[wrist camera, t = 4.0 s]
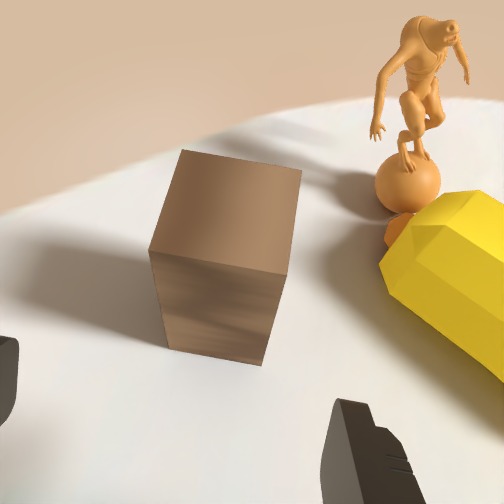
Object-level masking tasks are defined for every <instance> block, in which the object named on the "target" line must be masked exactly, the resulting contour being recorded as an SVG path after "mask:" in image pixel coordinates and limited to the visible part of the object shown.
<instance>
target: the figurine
mask: <svg viewBox="0 0 504 504" xmlns="http://www.w3.org/2000/svg"><path fill="white" fill-rule="evenodd" d="M458 32H459V26H458V24H457V22H456V21H455V20H447V21H437V20H434V19H432V18H429V17H427V16H418V17H414V18H412V19H411V20H409V21H408V22H407V24H406V25H405V26H404V28H403V30H402V33H401V39H400V45H401V46H400V48H399V49H398V51H397V53H396V54H395V55H394V56H393V57H392V58H391V59H390V60H389V61H388V62H387V64H386V65H385V66H384V67H383V68H382V69H381V71H380V72H379V74H378V77H377V82H376V94H375V101H374V114H373V119H372V122H371V127H370V140H371V138H372V134H374V140H375V142H376V134H378V136H379V139H380V140H381V133H380V129H381V128H382V129H383V130H384V131H386V130H385V127H384V126H383V125H382V124H381V123H380V117H381V113H382V110H383V105H384V97H385V90H386V86H387V81H388V77H389V76H390V75H392V74H393V73H394V72H395V71H396V70H397V69H399V67H401V66H402V65H403V64H404V66H405V70H406V74H407V76H406V77H407V78H406V79H407V84H408V91H406V92H404V93H403V94H401V96H400V98H399V103H400V106H401V108H402V109H401V110H402V114H403V115H404V119H405V123H406V125H407V127H408V129H409V130H403V131H401V132H400V133H399V138H398V140H397V144H398V150H399V153H396V154H394V155H392V156H390V157H389V158H388V159H386V160H385V161H384V162H383V163H382V165H381V166H380V168H379V169H378V171H377V174H376V178H375V191H376V194H377V197H378V199H379V200H380V202H381V203H382V204H383V205H384V206H385V207H386V208H387V209H389V210H391V211H393V212H395V213H399V214H403V213H406V212H408V213H411V214H414V213H417V212H419V211H420V210H422V209H423V208H424V207H426V206H427V205H429V204H430V203H431V202H433V201H434V200H435V199H436V197H437V195H438V193H439V190H440V185H441V178H440V173H439V170H438V168H437V166H436V164H435V163H434V162H433V161H432V160H431V159H430V156H429V154H428V153H427V152H426V151H425V150H424V148H423V144H422V140H421V137H422V135H423V134H424V132H425V130H428V129H431V128H435V127H438V126H439V125H440V124H442V122H443V121H444V119H445V114H444V112H443V110H442V106H441V101H440V97H439V87H438V78H437V77H435V76H434V75H435V73H436V72H438V70H439V69H440V68H441V66H442V64H443V63H444V61H445V60H446V57H447V50H448V46H453V49H454V51H455V53H456V56H457V58H458V61H459V62H460V64H461V65H462V66H463V68H464V74H465V75H464V80H466V83H467V84H468V85H469V78H470V77H469V66H468V62H467V56H466V54H465V52H464V50H463V48H462V46H461V40H460V36H459V34H458ZM420 101H421V102H420ZM425 113H426V114H428V115H429V117H430V120H429V119H427V118H425ZM410 141H414V151H407V148H406V144H405V142H410Z"/></svg>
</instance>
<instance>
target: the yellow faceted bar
mask: <svg viewBox="0 0 504 504" xmlns="http://www.w3.org/2000/svg"><path fill="white" fill-rule="evenodd" d="M384 241H385V243H386V244H387V246H388V248H389V250H388V251H387V253H386V254H385V255H384V257H383V258H382V260H381V261H380V263H379V267H380V270H381V272H382V275H383V278H384V281H385V283H386V286H387V289H388V291H389V294H390V295H392V296H393V297H394V298H396V299H397V300H398V301H399V302H401V303H402V304H403V305H405V306H406V307H407V308H409V309H410V310H411V311H413V312H414V313H415V314H417V315H418V316H419V317H420V318H422V319H423V320H424V321H426V322H427V323H428V324H430V325H431V326H432V327H434V328H435V329H436V330H438V331H439V332H440V333H441V334H443V335H444V336H445V337H447V338H448V339H449V340H451V341H452V342H453V343H455V344H456V345H457V346H459V347H460V348H461V349H463V350H464V351H465V352H466V353H468V354H469V355H470V356H472V357H473V358H474V359H476V360H477V361H478V362H480V363H481V364H482V365H484V366H485V367H486V368H487V369H488V370H490V371H491V372H492V373H493V374H494V375H495V376H496V377H497V378H499V379H500V380H501V381H502V382H503V383H504V204H502V203H500V202H499V201H497V200H495V199H494V198H492V197H490V196H489V195H487V194H485V193H484V192H482V191H480V190H474V191H462V192H451V193H444V194H442V195H441V196H440V197H438V198H437V199H435V200H434V201H433V202H431V203H430V204H429V205H427V206H426V207H424V208H423V209H422V210H420V211H419V212H417V213H416V214H415V215H414V214H411V213H408V212H406V213H403V214H402V215H400V216H398V217H396V218H394V219H392V220H390V221H389V223H388V226H387V230H386V233H385V236H384Z"/></svg>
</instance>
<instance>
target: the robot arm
mask: <svg viewBox="0 0 504 504" xmlns="http://www.w3.org/2000/svg"><path fill="white" fill-rule="evenodd" d="M18 360H19V343H18V341H17V339H15V338H11V337H5V336H0V426H1V425H2V424H3V423H4V422H5V421H6V420H7V418H8V417H9V415H10V413H11V411H12V409H13V406H14V404H15V400H16V392H17V376H18ZM320 482H321V490H322V498H323V504H426V502H425V500H424V497H423V495H422V493H421V490H420V488H419V485H418V483H417V480H416V478H415V476H414V475H413V471H412V468H411V466H410V463H409V462H407V456H406V454H405V451H404V449H403V446H402V444H401V442H400V441H399V440H398V439H397V438H396V437H395V436H394V435H393V434H392V433H391V432H390V431H389V430H388V429H387V428H383V427H377V426H375V423H374V420H373V418H372V415H371V412H370V409H369V406H368V404H366V403H361V402H356V401H350V400H345V399H339V398H337V399H336V401H335V403H334V406H333V410H332V414H331V419H330V423H329V427H328V431H327V436H326V440H325V444H324V449H323V453H322V459H321V468H320Z"/></svg>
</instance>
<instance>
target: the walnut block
mask: <svg viewBox="0 0 504 504" xmlns="http://www.w3.org/2000/svg"><path fill="white" fill-rule="evenodd" d="M301 174H302V170H298V169H292V168H287V167H281V166H275V165H269V164H264V163H258V162H252V161H247V160H241V159H235V158H229V157H224V156H218V155H212V154H207V153H201V152H195V151H189V150H184V149H182V151H181V154H180V157H179V160H178V163H177V166H176V169H175V172H174V175H173V178H172V181H171V184H170V187H169V190H168V193H167V195H166V198H165V201H164V204H163V207H162V210H161V213H160V216H159V219H158V222H157V225H156V228H155V231H154V234H153V237H152V240H151V243H150V246H149V249H148V252H149V257H150V261H151V266H152V271H153V275H154V280H155V285H156V290H157V294H158V299H159V304H160V309H161V313H162V318H163V323H164V328H165V332H166V337H167V342H168V347H169V349H171V350H177V351H182V352H187V353H193V354H198V355H204V356H209V357H214V358H220V359H225V360H231V361H236V362H241V363H247V364H252V365H258V366H261V365H262V361H263V358H264V354H265V351H266V347H267V344H268V340H269V337H270V333H271V330H272V326H273V323H274V319H275V316H276V312H277V309H278V305H279V302H280V298H281V295H282V291H283V288H284V284H285V281H286V277H287V272H288V265H289V258H290V251H291V244H292V237H293V230H294V223H295V216H296V209H297V202H298V195H299V188H300V181H301Z"/></svg>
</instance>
